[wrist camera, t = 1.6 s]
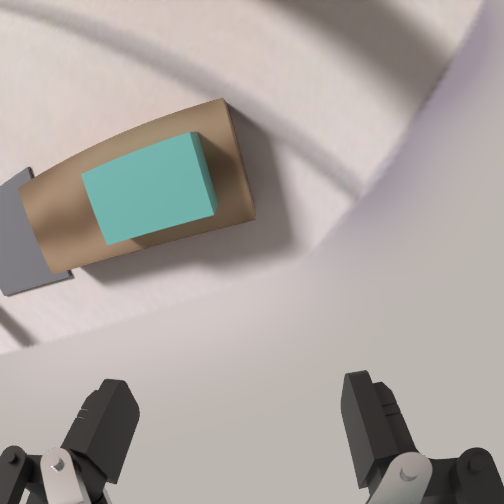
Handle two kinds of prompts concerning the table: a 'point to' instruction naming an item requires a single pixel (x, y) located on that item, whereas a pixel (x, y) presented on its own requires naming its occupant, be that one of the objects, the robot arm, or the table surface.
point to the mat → (20, 243)
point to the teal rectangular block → (151, 189)
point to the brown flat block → (69, 171)
